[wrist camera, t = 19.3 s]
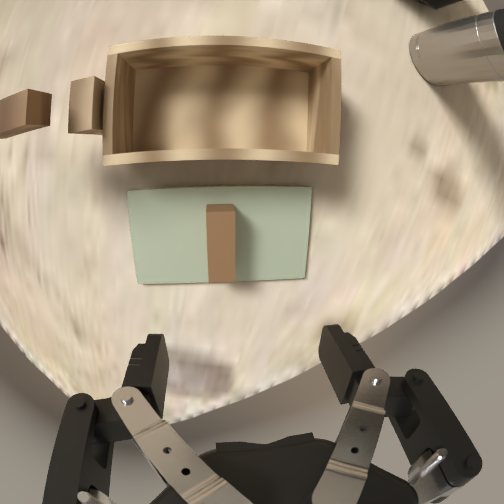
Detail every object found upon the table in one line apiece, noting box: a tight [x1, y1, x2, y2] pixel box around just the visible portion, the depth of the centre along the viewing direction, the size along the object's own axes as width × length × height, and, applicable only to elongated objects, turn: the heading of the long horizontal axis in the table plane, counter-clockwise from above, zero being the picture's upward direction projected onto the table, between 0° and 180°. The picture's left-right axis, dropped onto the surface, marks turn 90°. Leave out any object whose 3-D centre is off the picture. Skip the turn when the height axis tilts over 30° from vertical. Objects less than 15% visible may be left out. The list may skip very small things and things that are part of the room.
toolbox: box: [68, 36, 341, 166], centre depth 24 cm, size 25×12×10 cm, turn 88°
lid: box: [127, 186, 312, 284], centre depth 32 cm, size 22×12×6 cm, turn 89°
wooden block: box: [0, 89, 52, 139], centre depth 15 cm, size 6×3×4 cm, turn 88°
